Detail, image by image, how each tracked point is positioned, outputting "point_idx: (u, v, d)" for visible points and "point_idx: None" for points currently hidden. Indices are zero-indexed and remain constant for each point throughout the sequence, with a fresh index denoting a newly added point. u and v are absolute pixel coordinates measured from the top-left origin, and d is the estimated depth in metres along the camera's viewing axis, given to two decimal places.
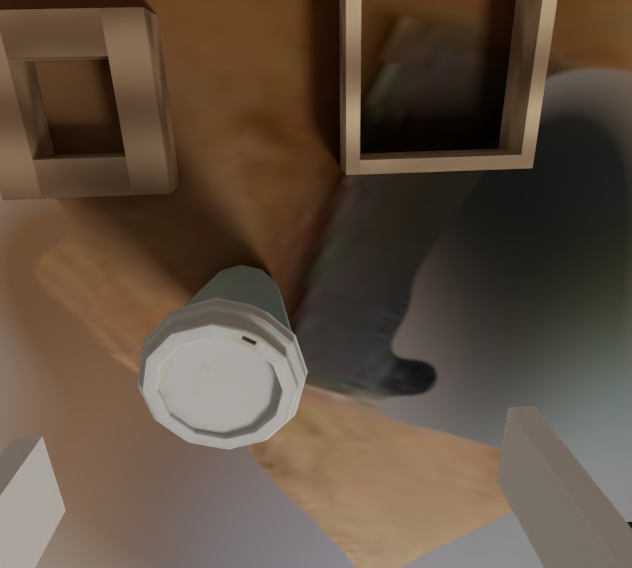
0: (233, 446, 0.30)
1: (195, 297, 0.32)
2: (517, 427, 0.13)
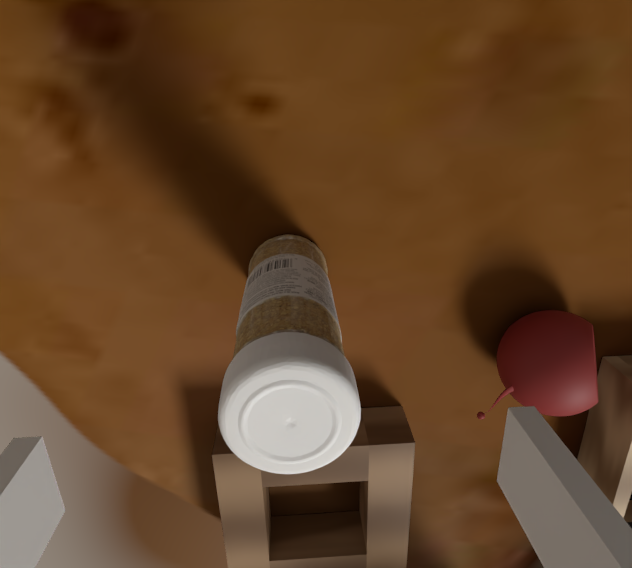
0: None
1: None
2: (517, 427, 0.13)
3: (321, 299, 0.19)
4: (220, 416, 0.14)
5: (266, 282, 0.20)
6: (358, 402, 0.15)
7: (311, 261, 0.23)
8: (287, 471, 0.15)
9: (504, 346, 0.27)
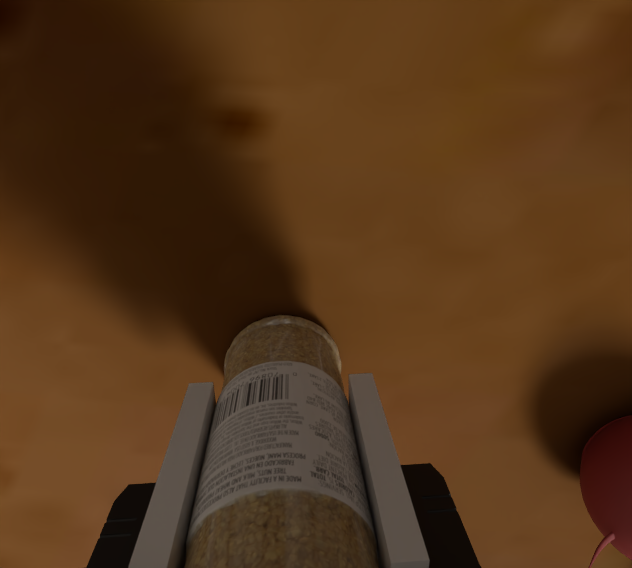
0: None
1: None
2: (351, 390, 0.14)
3: (341, 483, 0.10)
4: None
5: (242, 436, 0.11)
6: None
7: (319, 374, 0.14)
8: None
9: (597, 469, 0.19)
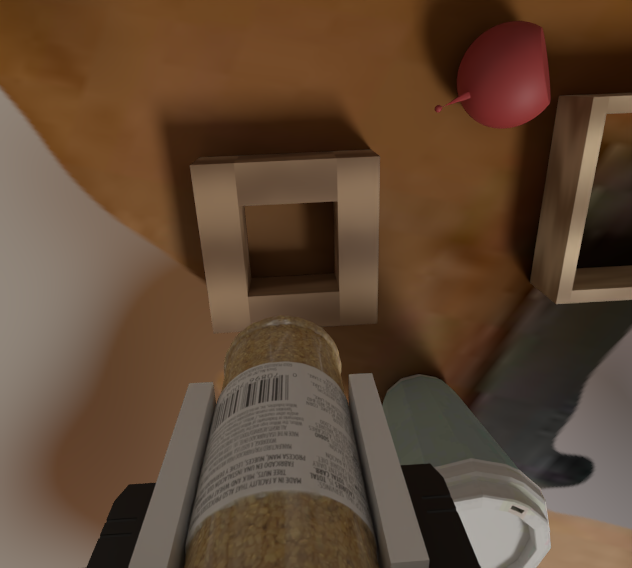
0: None
1: (422, 439, 0.31)
2: (351, 390, 0.14)
3: (341, 485, 0.10)
4: None
5: (242, 437, 0.11)
6: None
7: (319, 375, 0.14)
8: None
9: (462, 62, 0.29)
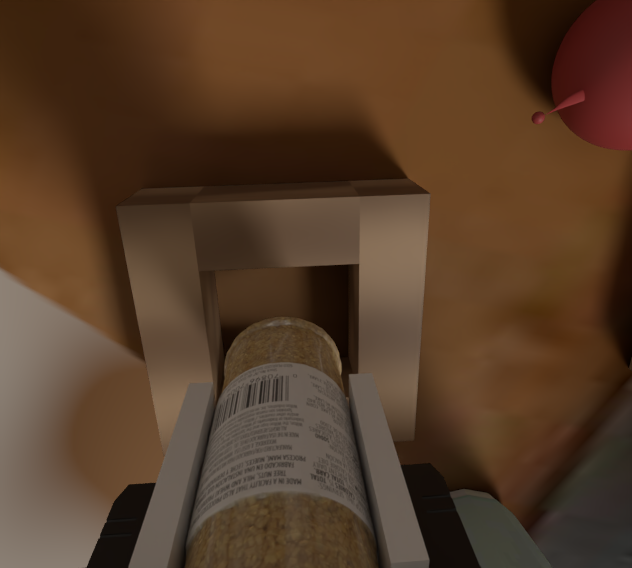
0: None
1: None
2: (351, 390, 0.14)
3: (341, 486, 0.10)
4: None
5: (243, 438, 0.11)
6: None
7: (319, 375, 0.14)
8: None
9: (567, 42, 0.18)
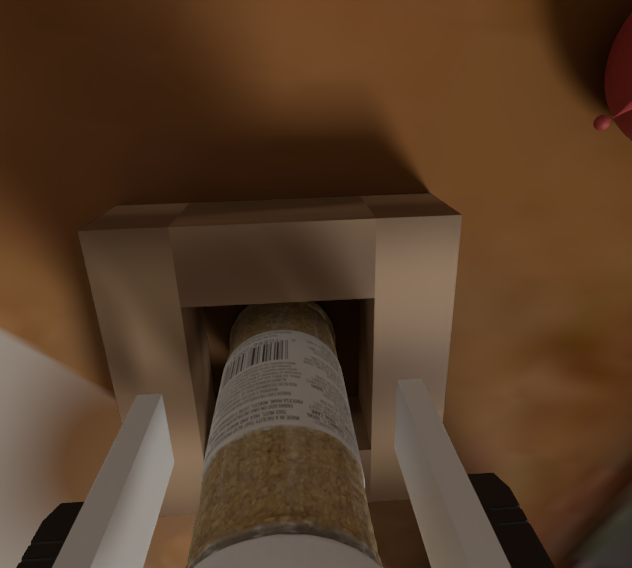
0: None
1: None
2: (401, 396, 0.14)
3: (333, 424, 0.12)
4: None
5: (248, 388, 0.13)
6: None
7: (315, 341, 0.16)
8: None
9: (629, 31, 0.15)
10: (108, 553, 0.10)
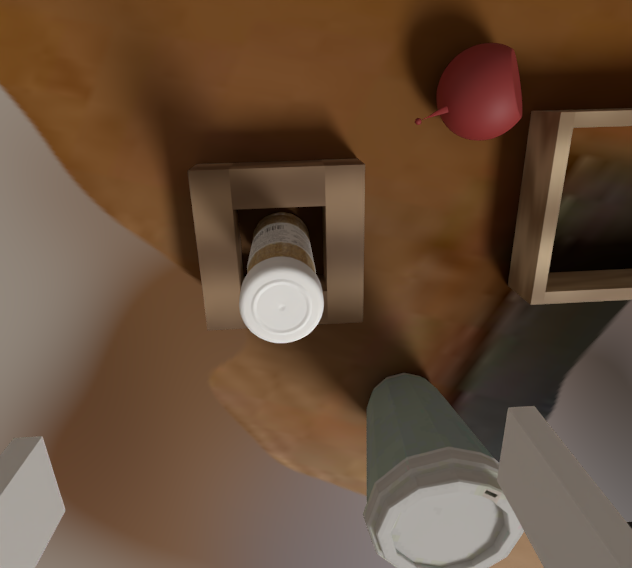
0: None
1: (404, 431, 0.33)
2: (517, 427, 0.13)
3: (302, 246, 0.29)
4: (240, 303, 0.24)
5: (266, 237, 0.30)
6: (321, 295, 0.25)
7: (297, 227, 0.33)
8: (280, 340, 0.25)
9: (441, 79, 0.32)
10: None
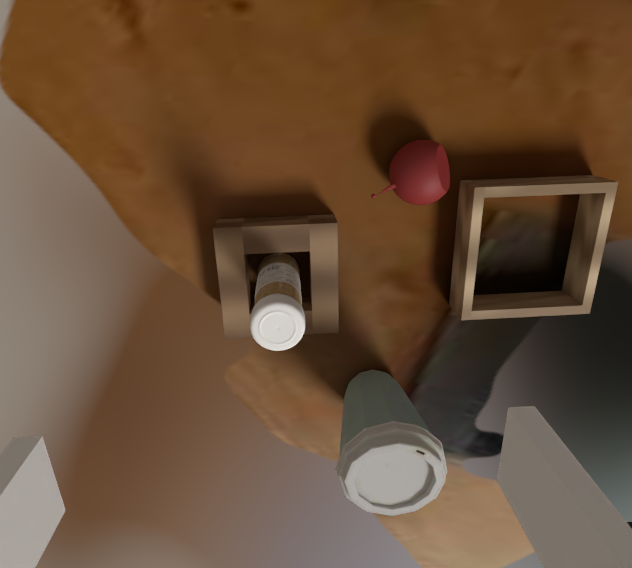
0: (396, 514, 0.45)
1: (366, 411, 0.47)
2: (517, 427, 0.13)
3: (292, 283, 0.42)
4: (251, 325, 0.38)
5: (267, 275, 0.44)
6: (303, 320, 0.38)
7: (289, 266, 0.46)
8: (276, 349, 0.39)
9: (391, 163, 0.45)
10: None
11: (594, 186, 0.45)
